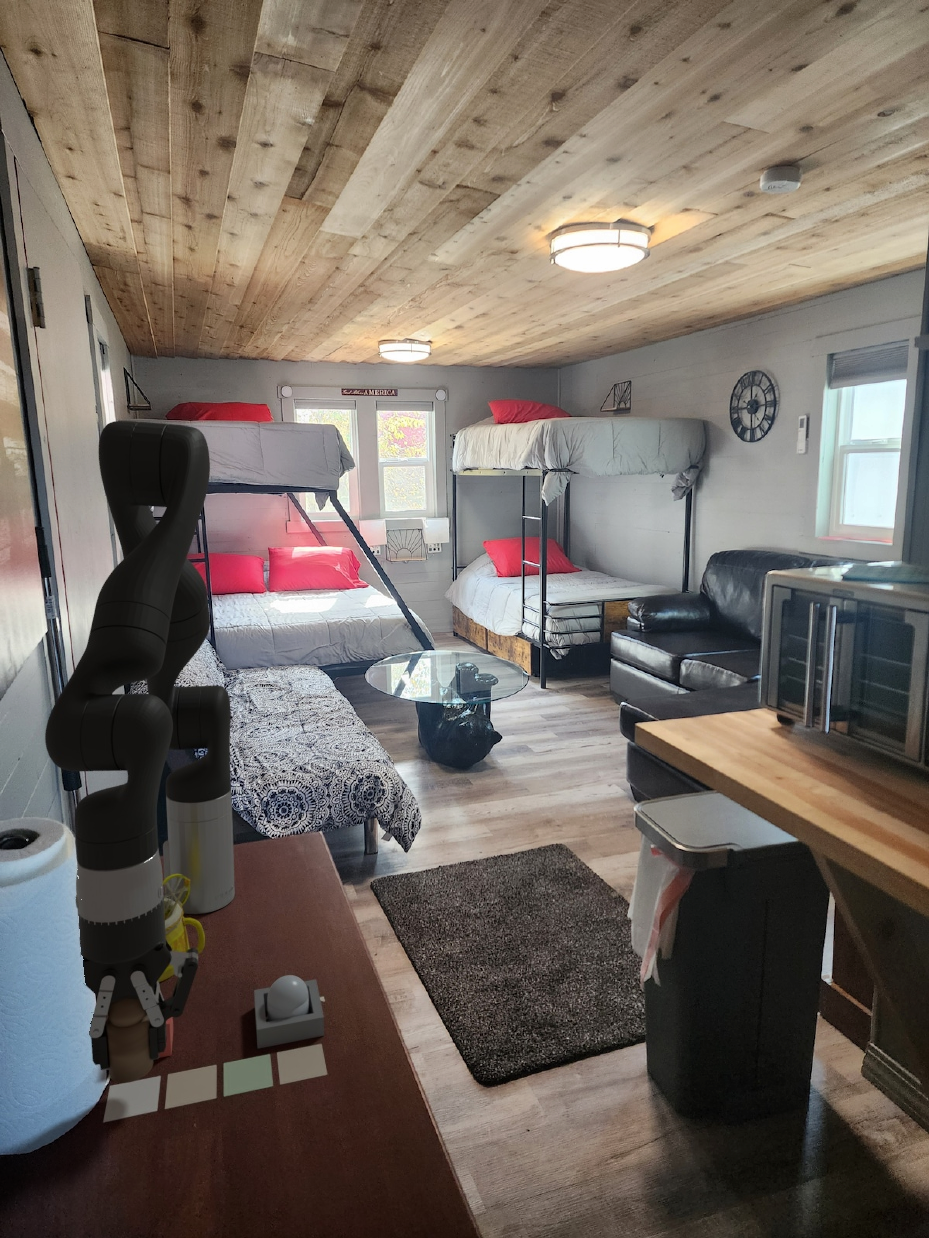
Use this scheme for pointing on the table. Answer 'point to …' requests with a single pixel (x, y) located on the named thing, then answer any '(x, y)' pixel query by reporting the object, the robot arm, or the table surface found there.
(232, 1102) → the table surface
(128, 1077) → the brown round-topped cylinder
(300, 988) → the capsule
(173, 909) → the mug
